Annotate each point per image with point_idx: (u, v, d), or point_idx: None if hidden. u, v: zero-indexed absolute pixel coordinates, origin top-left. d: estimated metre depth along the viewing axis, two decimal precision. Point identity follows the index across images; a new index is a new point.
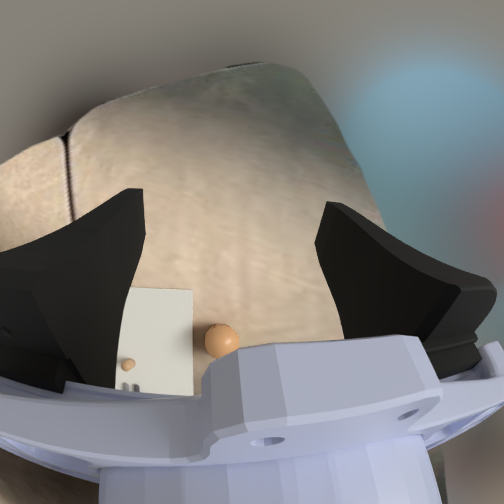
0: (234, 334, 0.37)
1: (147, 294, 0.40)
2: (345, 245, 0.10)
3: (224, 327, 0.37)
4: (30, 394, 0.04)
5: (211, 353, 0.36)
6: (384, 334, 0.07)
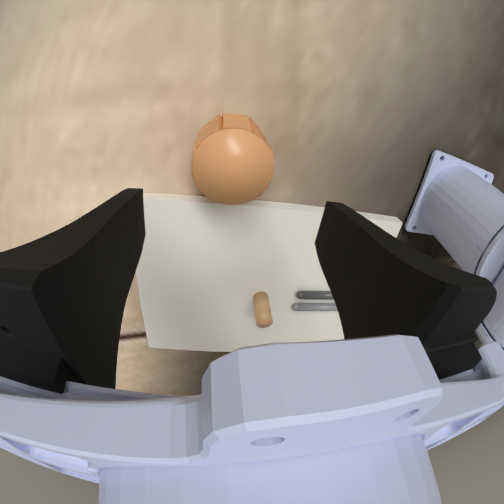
0: (215, 138, 0.14)
1: (145, 270, 0.23)
2: (345, 245, 0.10)
3: (195, 160, 0.15)
4: (30, 394, 0.04)
5: (256, 193, 0.16)
6: (384, 334, 0.07)
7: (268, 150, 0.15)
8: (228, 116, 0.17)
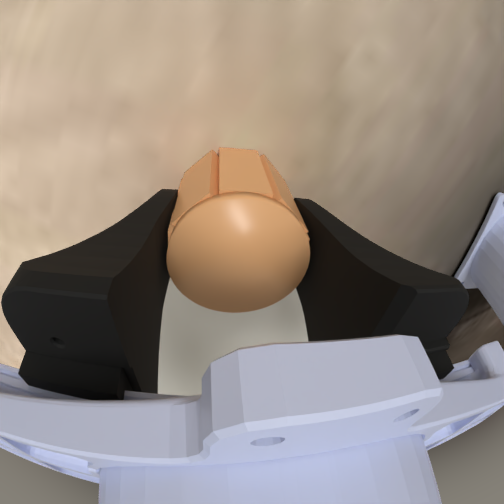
0: (205, 216, 0.08)
1: None
2: (309, 243, 0.09)
3: (172, 253, 0.08)
4: None
5: (277, 297, 0.10)
6: (341, 338, 0.07)
7: (302, 233, 0.08)
8: (228, 155, 0.10)
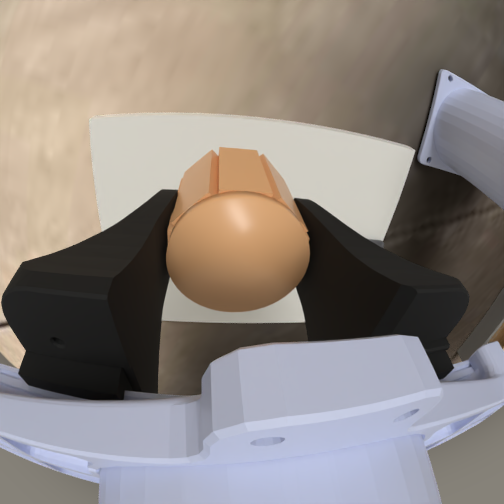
0: (204, 216, 0.08)
1: (109, 210, 0.19)
2: (309, 243, 0.09)
3: (172, 252, 0.08)
4: None
5: (277, 296, 0.10)
6: (341, 338, 0.07)
7: (302, 233, 0.08)
8: (227, 155, 0.10)
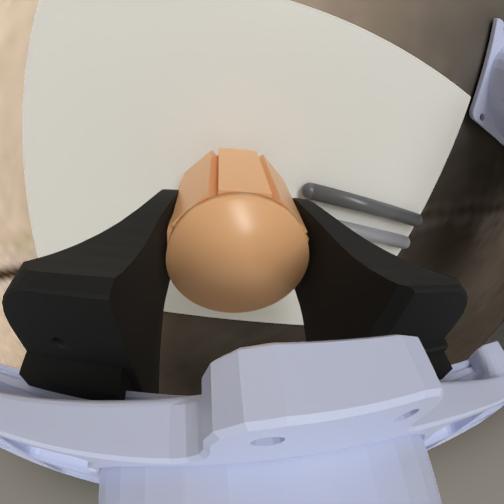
0: (204, 217, 0.08)
1: (35, 117, 0.10)
2: None
3: (171, 253, 0.08)
4: None
5: (276, 297, 0.10)
6: (339, 338, 0.07)
7: (301, 234, 0.08)
8: (227, 156, 0.10)
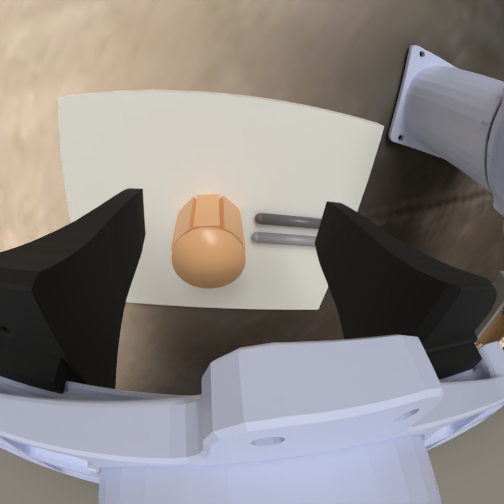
0: (187, 240, 0.16)
1: (75, 186, 0.18)
2: (345, 245, 0.10)
3: (174, 258, 0.17)
4: (30, 394, 0.04)
5: (233, 277, 0.18)
6: (384, 334, 0.07)
7: (237, 243, 0.17)
8: (201, 201, 0.19)
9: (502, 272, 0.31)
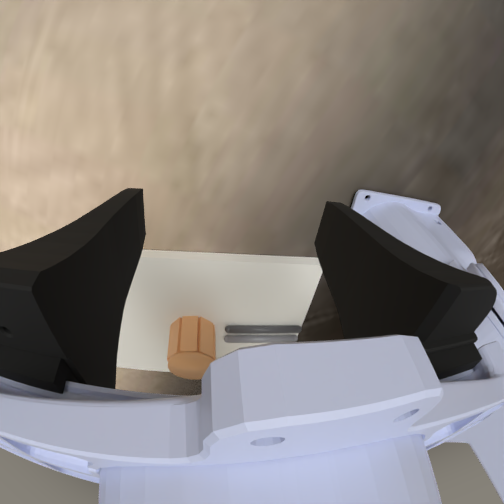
0: (176, 359, 0.24)
1: None
2: (345, 245, 0.10)
3: (169, 366, 0.24)
4: (30, 394, 0.04)
5: None
6: (384, 334, 0.07)
7: (209, 360, 0.24)
8: (184, 324, 0.26)
9: None
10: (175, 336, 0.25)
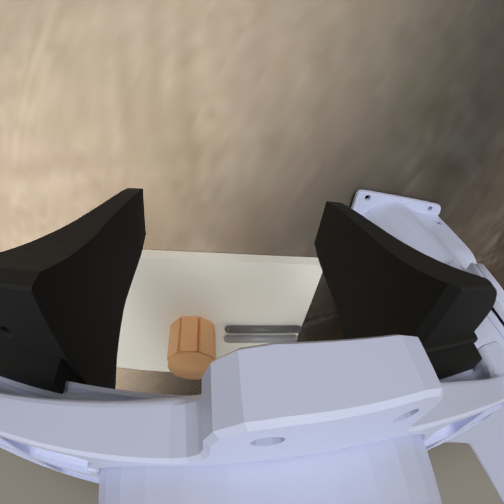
0: (176, 359, 0.24)
1: None
2: (345, 245, 0.10)
3: (169, 366, 0.24)
4: (30, 394, 0.04)
5: None
6: (384, 334, 0.07)
7: (209, 360, 0.24)
8: (184, 324, 0.26)
9: None
10: (175, 336, 0.25)
